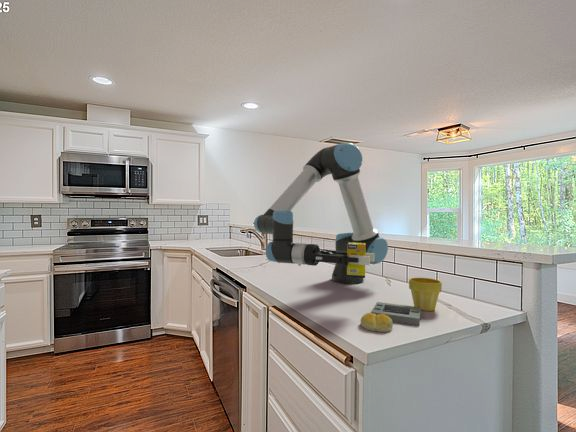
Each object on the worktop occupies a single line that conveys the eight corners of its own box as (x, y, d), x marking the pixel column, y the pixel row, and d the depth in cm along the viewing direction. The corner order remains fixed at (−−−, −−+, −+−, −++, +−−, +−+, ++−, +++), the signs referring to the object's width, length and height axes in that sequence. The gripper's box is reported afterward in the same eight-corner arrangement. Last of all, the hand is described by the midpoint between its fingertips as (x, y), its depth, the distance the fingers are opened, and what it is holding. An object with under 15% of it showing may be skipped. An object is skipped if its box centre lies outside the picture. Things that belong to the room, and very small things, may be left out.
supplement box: (365, 278, 101) (365, 244, 101) (346, 277, 103) (346, 243, 102) (365, 274, 107) (365, 242, 107) (347, 273, 108) (347, 242, 108)
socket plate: (377, 307, 109) (377, 301, 109) (420, 313, 103) (420, 306, 103) (370, 318, 98) (370, 311, 98) (419, 325, 92) (419, 317, 92)
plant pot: (428, 303, 115) (428, 276, 115) (448, 311, 105) (448, 282, 105) (402, 304, 113) (403, 277, 113) (420, 313, 103) (421, 284, 103)
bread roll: (363, 320, 97) (363, 307, 96) (393, 325, 93) (394, 312, 93) (357, 330, 89) (357, 316, 89) (390, 335, 85) (390, 320, 85)
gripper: (316, 260, 122) (377, 265, 111) (295, 269, 104) (364, 276, 94) (316, 241, 121) (377, 244, 111) (295, 246, 104) (365, 251, 94)
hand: (371, 259), depth 102 cm, fingers closed on supplement box, 7 cm apart
